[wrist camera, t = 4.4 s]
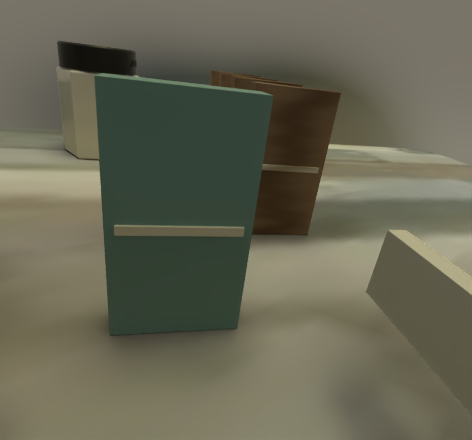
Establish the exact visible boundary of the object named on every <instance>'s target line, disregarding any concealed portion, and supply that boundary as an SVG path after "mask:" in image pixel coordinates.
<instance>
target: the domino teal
mask: <svg viewBox="0 0 472 440" xmlns="http://www.w3.org/2000/svg"><path fill="white" fill-rule="evenodd" d="M94 80H95V96H96V113H97V130H98V146H99V163H100V180H101V196H102V213H103V230H104V246H105V263H106V279H107V296H108V313H109V329H110V335H126V334H144V333H162V332H179V331H197V330H215V329H232V328H237V325H238V319H239V312H240V306H241V300H242V293H243V287H244V281H245V274H246V268H247V262H248V255H249V249H250V243H251V236H252V230H253V224H254V217H255V211H256V204H257V198H258V192H259V185H260V179H261V173H262V166H263V160H264V154H265V147H266V141H267V135H268V128H269V122H270V115H271V109H272V103H273V95H270V94H268V93H265V92H262V91H254V90H245V89H237V88H228V87H219V86H210V85H202V84H193V83H184V82H175V81H167V80H158V79H149V78H140V77H132V76H123V75H115V74H106V73H101V74H98V75H94Z"/></svg>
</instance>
